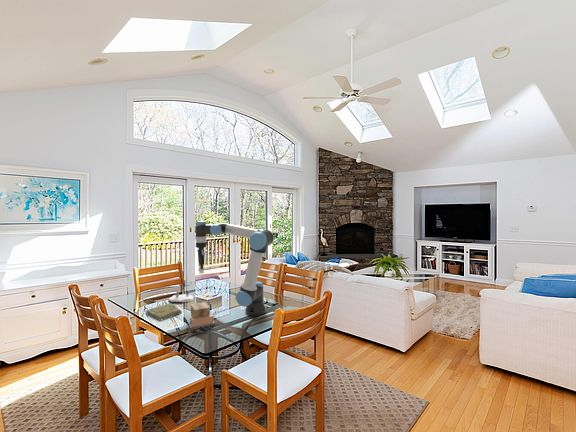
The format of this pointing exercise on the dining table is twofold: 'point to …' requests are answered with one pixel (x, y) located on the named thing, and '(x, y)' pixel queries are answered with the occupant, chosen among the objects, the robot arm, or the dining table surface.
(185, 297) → the figurine
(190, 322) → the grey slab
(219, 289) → the dining table surface
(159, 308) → the decorative tile
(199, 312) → the oak block
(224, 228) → the robot arm
